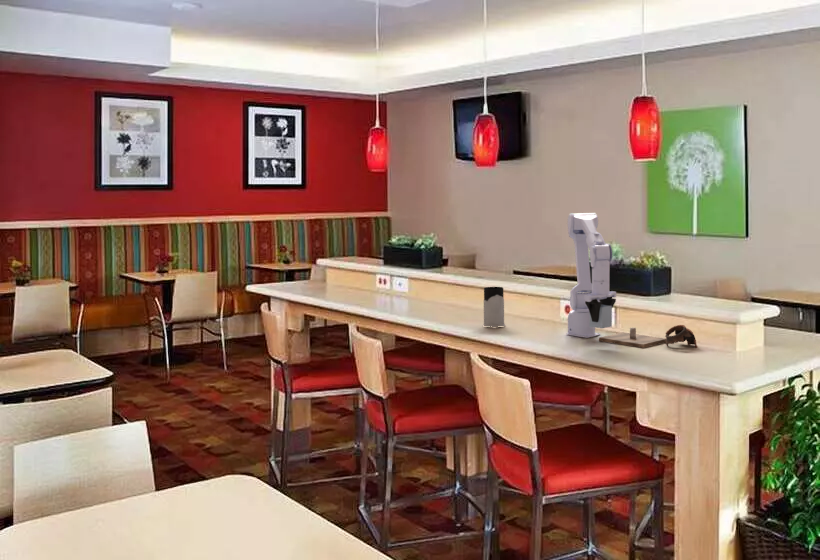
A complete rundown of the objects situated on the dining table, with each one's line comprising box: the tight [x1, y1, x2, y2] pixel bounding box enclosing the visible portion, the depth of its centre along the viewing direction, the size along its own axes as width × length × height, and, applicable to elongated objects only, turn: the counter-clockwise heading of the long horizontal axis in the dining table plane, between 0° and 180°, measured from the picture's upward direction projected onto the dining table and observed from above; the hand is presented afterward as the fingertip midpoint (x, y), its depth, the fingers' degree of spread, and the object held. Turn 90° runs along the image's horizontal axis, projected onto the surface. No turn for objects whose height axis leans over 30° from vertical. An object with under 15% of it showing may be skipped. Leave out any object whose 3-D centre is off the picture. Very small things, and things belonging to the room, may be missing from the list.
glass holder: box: [483, 286, 506, 327], centre depth 336 cm, size 9×14×15 cm, turn 14°
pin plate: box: [598, 327, 666, 349], centre depth 297 cm, size 18×14×5 cm
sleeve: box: [589, 305, 613, 329], centre depth 290 cm, size 5×5×7 cm
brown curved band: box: [664, 324, 698, 348], centre depth 288 cm, size 12×10×8 cm
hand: (600, 320), depth 290 cm, fingers closed on sleeve, 5 cm apart
